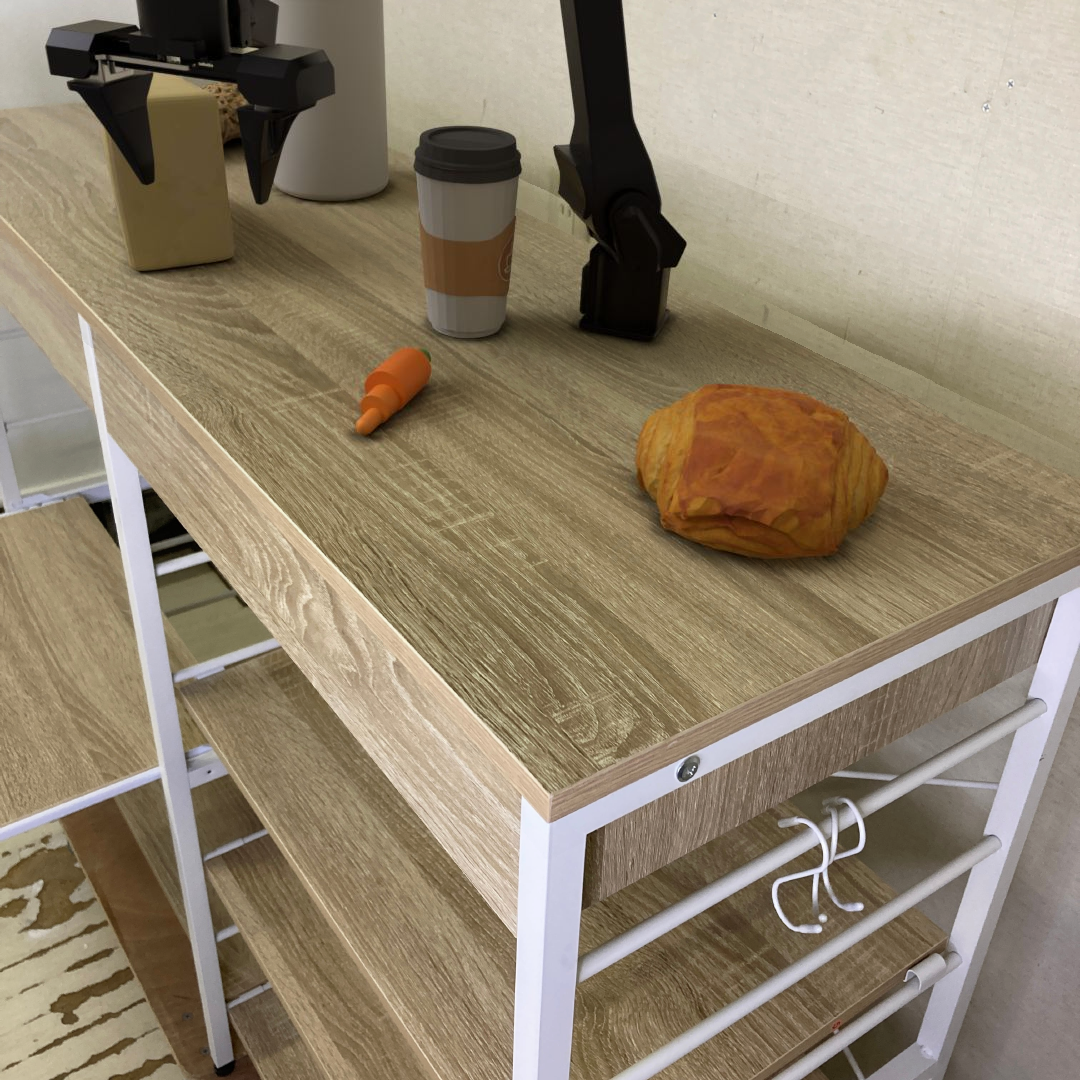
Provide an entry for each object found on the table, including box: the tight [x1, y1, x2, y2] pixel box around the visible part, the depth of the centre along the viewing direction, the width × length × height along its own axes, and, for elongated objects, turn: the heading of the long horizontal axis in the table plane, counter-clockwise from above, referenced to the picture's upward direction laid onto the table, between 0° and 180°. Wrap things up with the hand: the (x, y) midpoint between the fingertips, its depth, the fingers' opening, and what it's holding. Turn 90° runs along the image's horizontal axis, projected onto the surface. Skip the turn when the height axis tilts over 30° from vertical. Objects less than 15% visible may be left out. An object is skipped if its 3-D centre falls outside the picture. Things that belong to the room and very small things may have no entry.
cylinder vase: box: [270, 0, 390, 202], centre depth 114 cm, size 12×12×25 cm
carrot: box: [355, 346, 432, 436], centre depth 77 cm, size 10×3×3 cm, turn 161°
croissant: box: [634, 383, 890, 560], centre depth 67 cm, size 14×16×8 cm
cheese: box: [100, 69, 235, 272], centre depth 102 cm, size 22×10×15 cm, turn 29°
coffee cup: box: [412, 125, 523, 339], centre depth 87 cm, size 8×8×15 cm
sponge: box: [199, 81, 249, 145], centre depth 131 cm, size 13×8×20 cm
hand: (204, 193), depth 77 cm, fingers open, 9 cm apart
